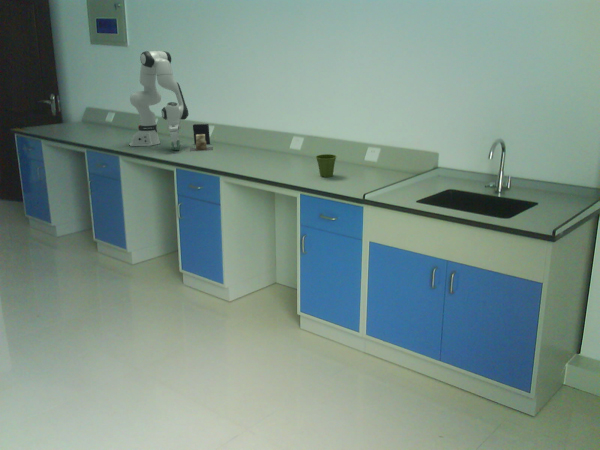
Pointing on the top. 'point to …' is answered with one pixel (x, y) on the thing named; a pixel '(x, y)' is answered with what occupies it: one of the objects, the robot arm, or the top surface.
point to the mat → (201, 150)
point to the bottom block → (201, 146)
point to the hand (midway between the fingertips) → (175, 146)
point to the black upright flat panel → (201, 131)
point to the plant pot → (326, 164)
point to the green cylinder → (177, 145)
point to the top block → (200, 138)
